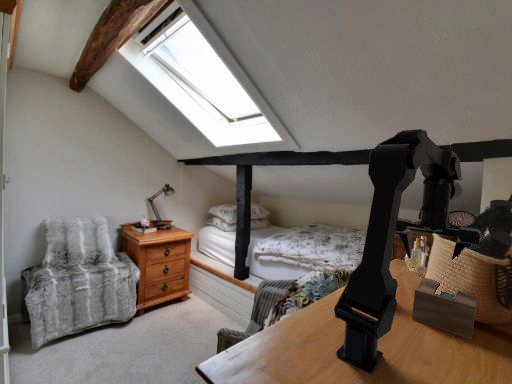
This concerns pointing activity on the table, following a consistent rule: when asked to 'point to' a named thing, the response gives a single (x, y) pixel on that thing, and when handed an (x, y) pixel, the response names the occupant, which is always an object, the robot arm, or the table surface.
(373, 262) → the robot arm
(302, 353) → the table surface
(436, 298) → the wooden box
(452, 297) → the teal block
